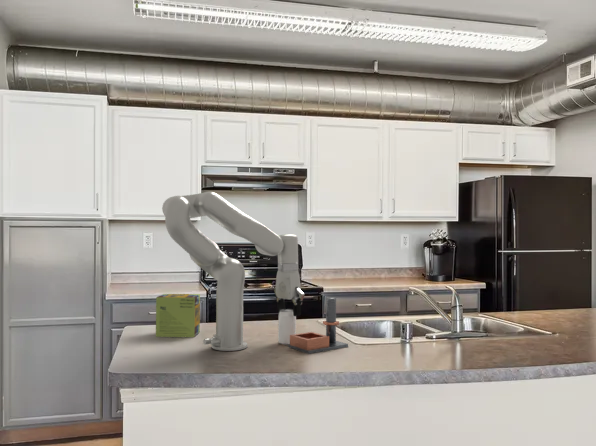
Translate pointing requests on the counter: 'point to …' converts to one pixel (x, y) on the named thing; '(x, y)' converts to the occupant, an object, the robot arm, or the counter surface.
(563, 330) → the counter surface
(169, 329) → the protein box
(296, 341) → the grey and orange stand
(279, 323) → the can
